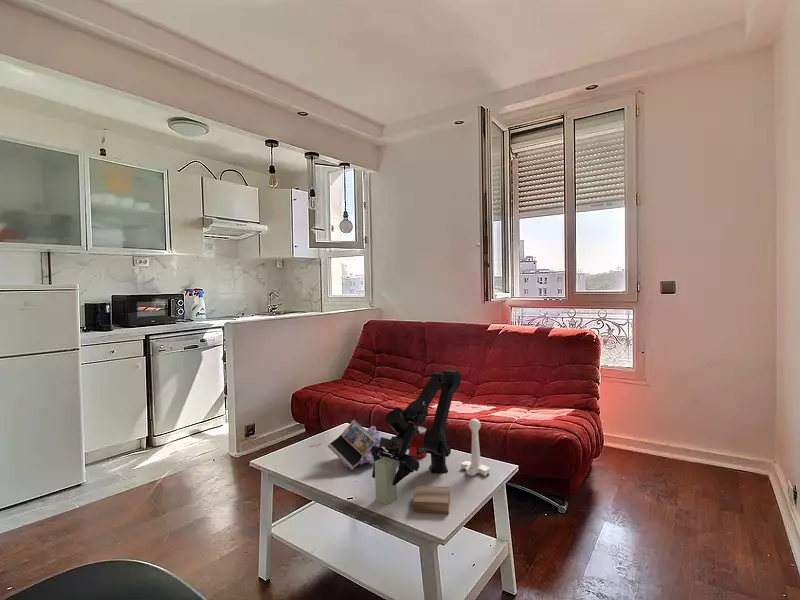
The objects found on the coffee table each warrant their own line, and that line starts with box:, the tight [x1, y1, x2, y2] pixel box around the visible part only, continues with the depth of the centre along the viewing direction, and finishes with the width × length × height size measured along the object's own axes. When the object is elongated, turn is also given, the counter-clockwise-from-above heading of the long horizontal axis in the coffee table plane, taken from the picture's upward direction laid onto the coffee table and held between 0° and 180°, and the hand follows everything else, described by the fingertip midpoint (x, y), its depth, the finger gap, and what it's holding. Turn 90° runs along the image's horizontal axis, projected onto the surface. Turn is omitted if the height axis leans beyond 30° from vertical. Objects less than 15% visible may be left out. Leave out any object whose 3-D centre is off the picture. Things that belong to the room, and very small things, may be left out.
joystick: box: [460, 418, 491, 477], centre depth 162 cm, size 11×8×20 cm
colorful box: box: [326, 419, 383, 471], centre depth 176 cm, size 20×22×18 cm
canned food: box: [408, 425, 428, 459], centre depth 180 cm, size 8×8×11 cm
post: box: [374, 457, 398, 505], centre depth 143 cm, size 5×5×13 cm
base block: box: [412, 485, 451, 515], centre depth 138 cm, size 11×11×4 cm
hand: (382, 481), depth 142 cm, fingers open, 9 cm apart
